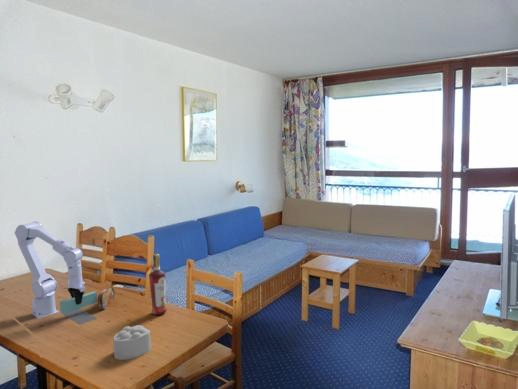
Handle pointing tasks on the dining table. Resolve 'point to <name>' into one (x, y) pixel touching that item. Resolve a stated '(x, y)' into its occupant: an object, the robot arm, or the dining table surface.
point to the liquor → (157, 288)
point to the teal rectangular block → (71, 304)
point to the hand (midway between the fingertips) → (77, 303)
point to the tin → (105, 298)
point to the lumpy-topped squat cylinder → (131, 342)
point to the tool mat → (80, 316)
